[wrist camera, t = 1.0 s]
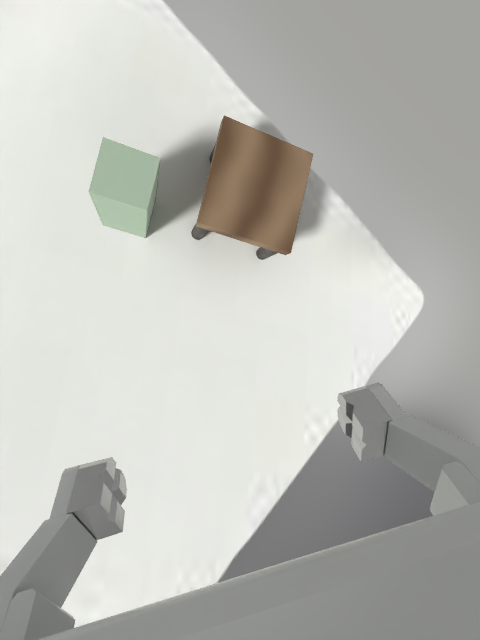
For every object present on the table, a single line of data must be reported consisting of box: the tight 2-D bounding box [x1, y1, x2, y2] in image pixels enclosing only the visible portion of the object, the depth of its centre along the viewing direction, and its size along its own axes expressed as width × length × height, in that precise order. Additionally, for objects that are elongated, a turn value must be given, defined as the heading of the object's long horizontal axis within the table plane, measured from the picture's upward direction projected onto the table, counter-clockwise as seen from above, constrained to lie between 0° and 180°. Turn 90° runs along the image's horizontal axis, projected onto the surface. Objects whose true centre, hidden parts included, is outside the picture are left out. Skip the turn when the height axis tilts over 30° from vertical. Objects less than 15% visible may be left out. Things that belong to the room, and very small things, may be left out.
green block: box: [89, 137, 160, 238], centre depth 35 cm, size 5×5×11 cm
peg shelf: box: [192, 116, 313, 260], centre depth 40 cm, size 11×12×8 cm
